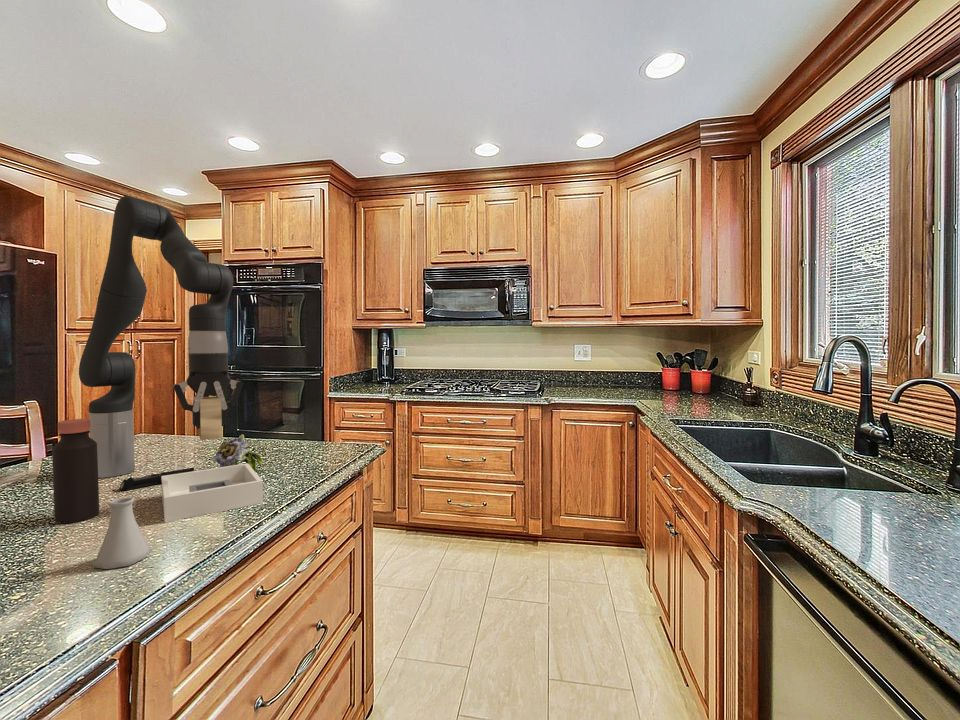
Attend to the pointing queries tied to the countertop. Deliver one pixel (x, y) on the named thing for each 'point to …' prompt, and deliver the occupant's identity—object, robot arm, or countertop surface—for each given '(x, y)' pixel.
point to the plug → (210, 418)
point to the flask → (122, 538)
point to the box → (210, 491)
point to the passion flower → (237, 453)
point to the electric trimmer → (148, 480)
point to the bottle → (75, 472)
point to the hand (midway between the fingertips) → (210, 426)
